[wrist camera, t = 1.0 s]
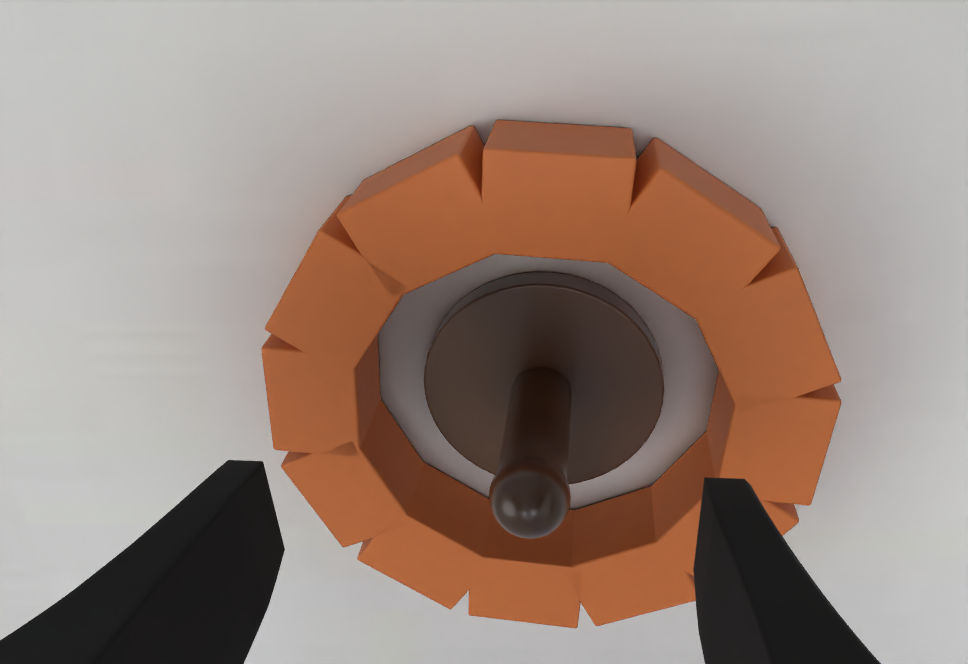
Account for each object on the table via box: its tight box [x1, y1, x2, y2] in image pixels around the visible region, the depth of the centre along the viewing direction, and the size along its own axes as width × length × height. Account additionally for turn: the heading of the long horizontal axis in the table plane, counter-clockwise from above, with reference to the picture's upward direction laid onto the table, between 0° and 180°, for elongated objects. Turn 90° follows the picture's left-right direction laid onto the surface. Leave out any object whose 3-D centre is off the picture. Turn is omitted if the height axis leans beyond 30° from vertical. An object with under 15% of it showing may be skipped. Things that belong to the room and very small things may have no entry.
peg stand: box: [424, 272, 664, 539], centre depth 20 cm, size 6×6×6 cm
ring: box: [262, 120, 841, 628], centre depth 21 cm, size 14×14×2 cm
